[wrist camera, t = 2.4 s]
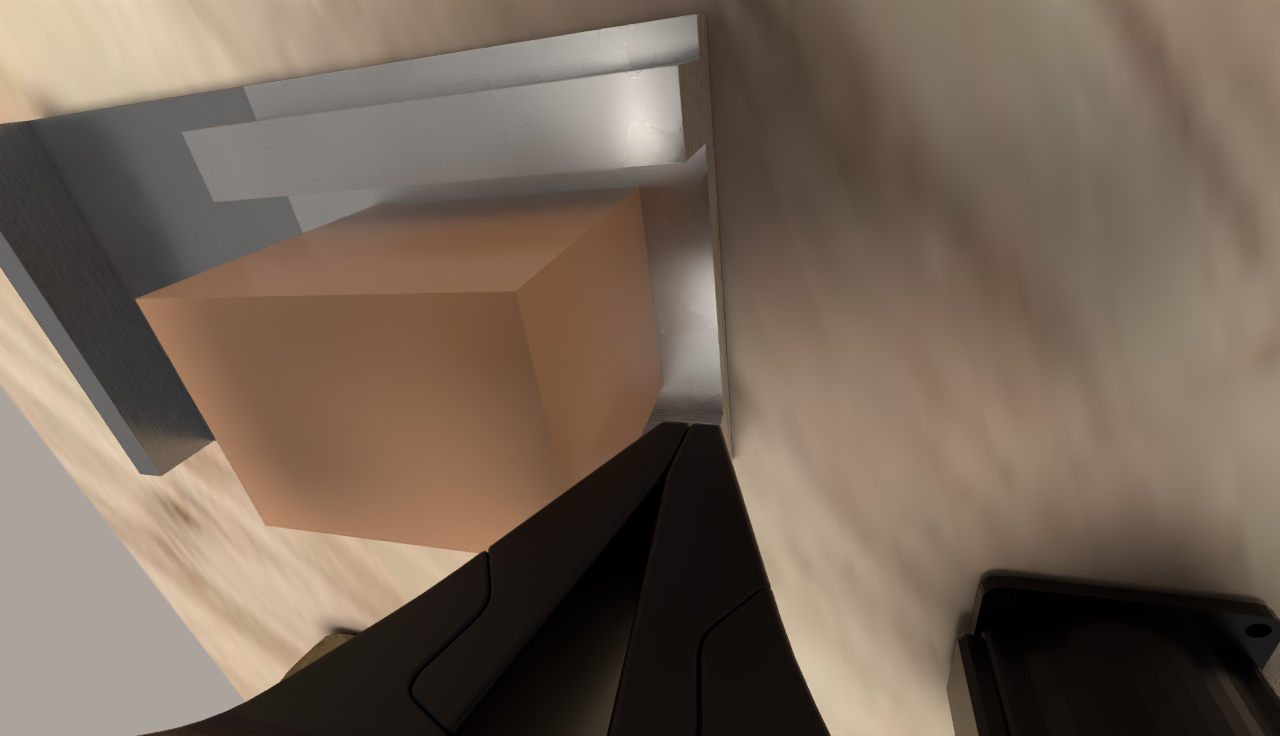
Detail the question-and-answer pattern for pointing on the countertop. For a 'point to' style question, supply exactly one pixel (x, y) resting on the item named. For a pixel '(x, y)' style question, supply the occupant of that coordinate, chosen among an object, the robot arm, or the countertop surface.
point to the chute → (359, 196)
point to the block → (424, 362)
